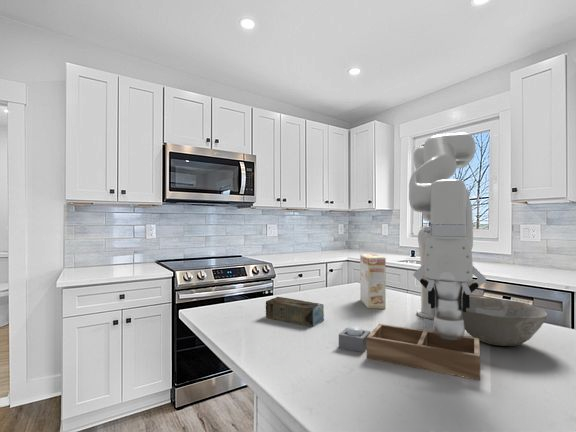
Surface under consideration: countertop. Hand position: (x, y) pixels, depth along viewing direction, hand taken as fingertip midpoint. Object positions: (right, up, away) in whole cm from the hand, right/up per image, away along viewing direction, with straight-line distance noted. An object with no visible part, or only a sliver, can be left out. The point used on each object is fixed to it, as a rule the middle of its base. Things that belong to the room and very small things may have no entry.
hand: (448, 308), depth 79 cm
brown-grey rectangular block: (-36, -14, +35) cm, 52 cm away
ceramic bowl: (+20, -13, +14) cm, 28 cm away
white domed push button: (-20, -11, +11) cm, 25 cm away
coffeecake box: (-4, -14, +57) cm, 59 cm away
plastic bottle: (0, -7, 0) cm, 7 cm away
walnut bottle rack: (-5, -13, +3) cm, 14 cm away
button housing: (-20, -13, +11) cm, 26 cm away
